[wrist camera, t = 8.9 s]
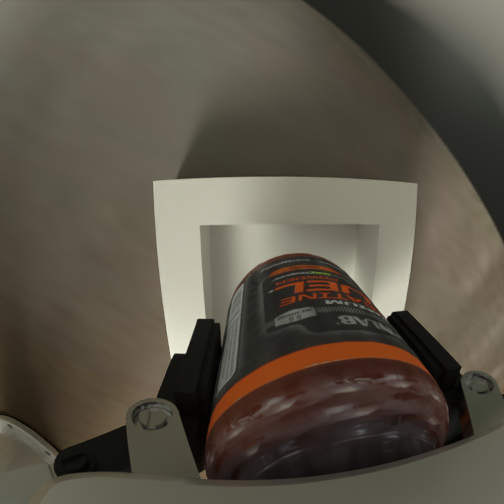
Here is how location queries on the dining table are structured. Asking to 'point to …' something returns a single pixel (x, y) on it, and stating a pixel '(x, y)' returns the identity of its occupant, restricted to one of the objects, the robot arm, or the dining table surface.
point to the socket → (276, 238)
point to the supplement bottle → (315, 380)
